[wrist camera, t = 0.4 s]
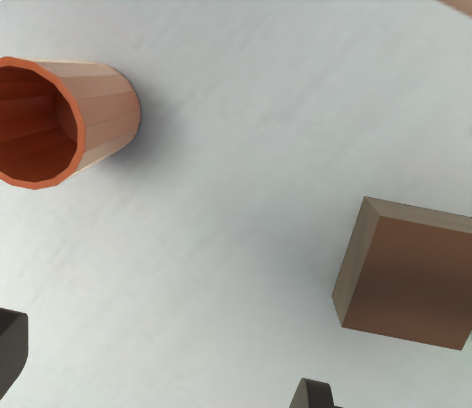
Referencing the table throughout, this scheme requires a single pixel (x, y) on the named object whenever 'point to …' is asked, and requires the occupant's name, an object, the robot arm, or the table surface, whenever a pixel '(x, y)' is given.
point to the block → (408, 275)
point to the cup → (61, 118)
